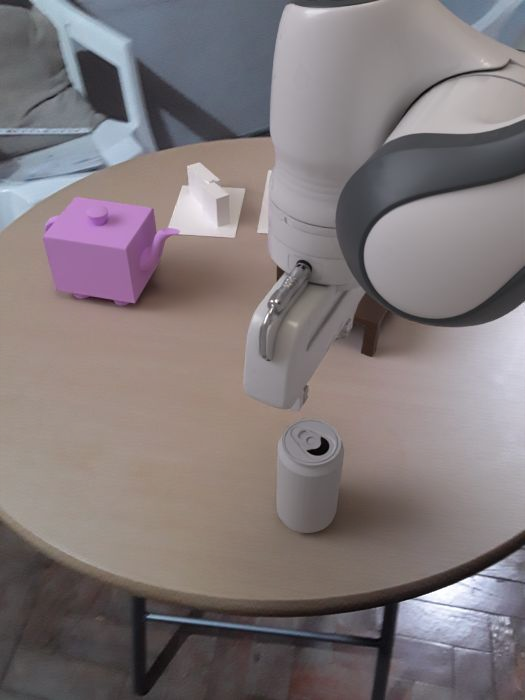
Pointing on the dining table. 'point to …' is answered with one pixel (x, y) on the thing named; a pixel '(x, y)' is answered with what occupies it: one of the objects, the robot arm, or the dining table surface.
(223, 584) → the dining table surface
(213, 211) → the napkin holder
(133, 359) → the dining table surface
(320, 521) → the beverage can
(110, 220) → the teapot
